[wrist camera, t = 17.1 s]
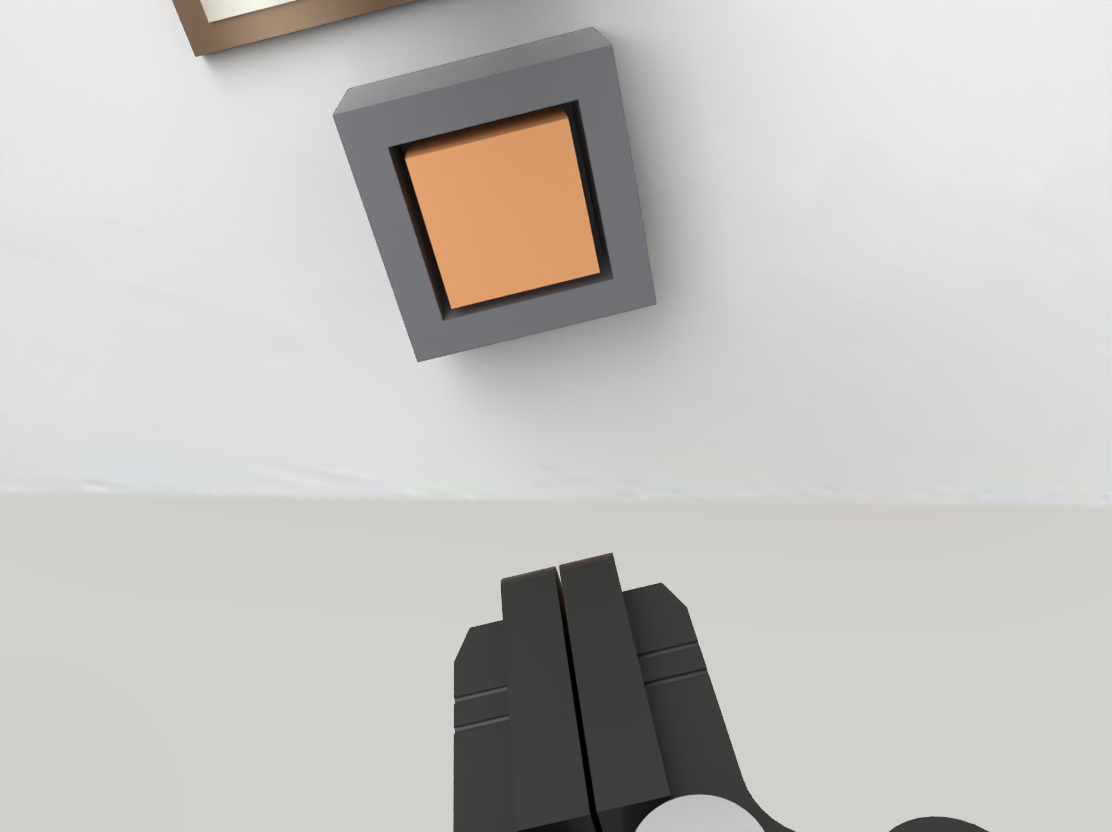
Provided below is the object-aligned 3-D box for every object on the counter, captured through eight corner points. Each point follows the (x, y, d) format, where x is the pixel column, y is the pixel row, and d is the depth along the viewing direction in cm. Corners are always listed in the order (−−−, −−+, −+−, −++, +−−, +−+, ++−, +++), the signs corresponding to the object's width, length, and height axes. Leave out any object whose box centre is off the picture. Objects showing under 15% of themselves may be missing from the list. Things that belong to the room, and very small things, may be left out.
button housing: (421, 312, 32) (417, 362, 28) (348, 89, 27) (332, 114, 24) (634, 260, 31) (656, 304, 28) (592, 26, 27) (611, 44, 24)
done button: (452, 274, 30) (451, 309, 27) (410, 134, 27) (405, 159, 25) (587, 240, 30) (600, 272, 27) (557, 97, 27) (568, 118, 25)
